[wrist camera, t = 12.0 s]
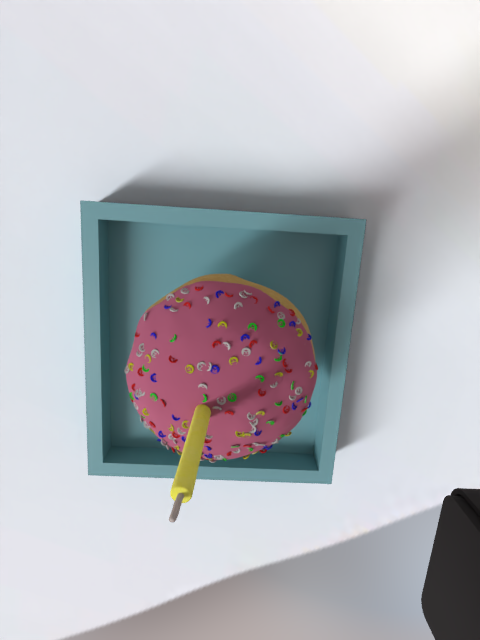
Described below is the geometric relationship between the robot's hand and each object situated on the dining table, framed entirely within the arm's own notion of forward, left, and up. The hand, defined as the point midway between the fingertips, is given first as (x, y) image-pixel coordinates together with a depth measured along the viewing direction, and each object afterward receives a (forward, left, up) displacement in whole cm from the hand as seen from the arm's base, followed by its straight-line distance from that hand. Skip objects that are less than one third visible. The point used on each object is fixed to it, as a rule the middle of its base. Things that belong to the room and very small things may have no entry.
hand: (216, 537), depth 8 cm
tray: (0, +1, -16) cm, 16 cm away
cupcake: (0, 0, -15) cm, 15 cm away
